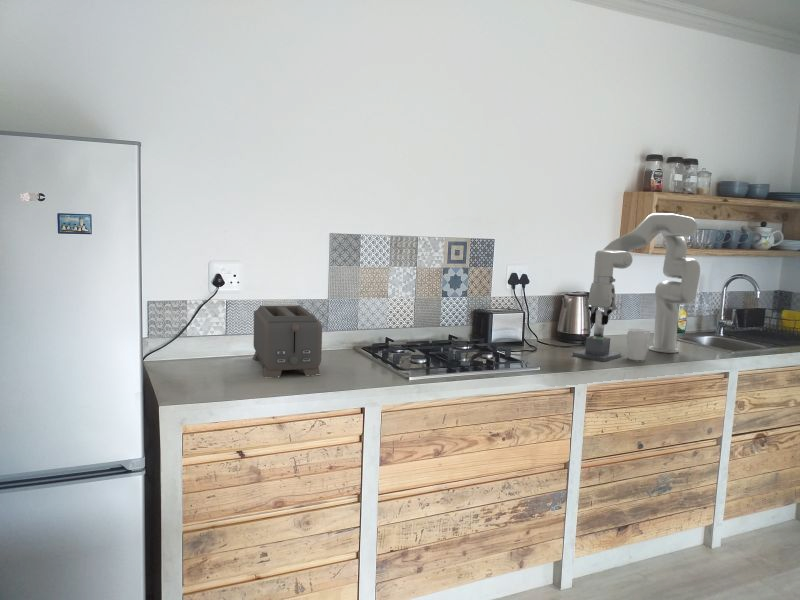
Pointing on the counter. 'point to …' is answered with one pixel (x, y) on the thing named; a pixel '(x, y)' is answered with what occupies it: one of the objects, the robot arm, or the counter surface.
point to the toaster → (287, 339)
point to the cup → (637, 343)
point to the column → (599, 324)
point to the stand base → (597, 350)
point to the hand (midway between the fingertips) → (599, 323)
